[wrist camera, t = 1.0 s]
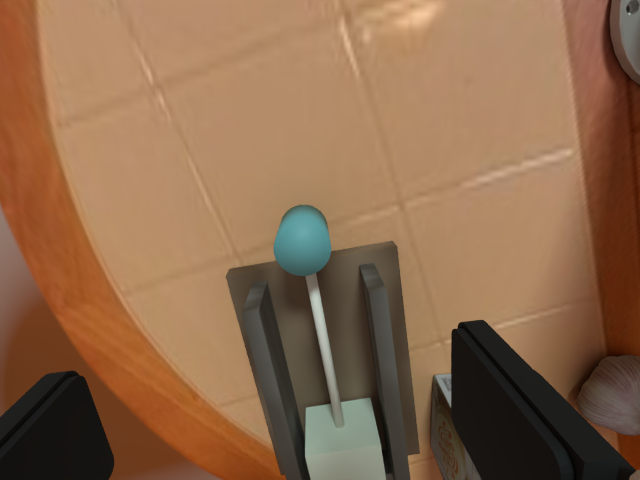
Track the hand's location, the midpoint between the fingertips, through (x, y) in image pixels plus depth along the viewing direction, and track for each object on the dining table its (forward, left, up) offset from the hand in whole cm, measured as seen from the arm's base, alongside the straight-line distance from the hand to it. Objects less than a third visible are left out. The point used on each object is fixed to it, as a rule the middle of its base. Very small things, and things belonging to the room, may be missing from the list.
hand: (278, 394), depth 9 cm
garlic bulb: (-26, +22, -21) cm, 40 cm away
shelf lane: (0, +15, -20) cm, 25 cm away
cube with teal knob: (0, +11, -19) cm, 22 cm away
